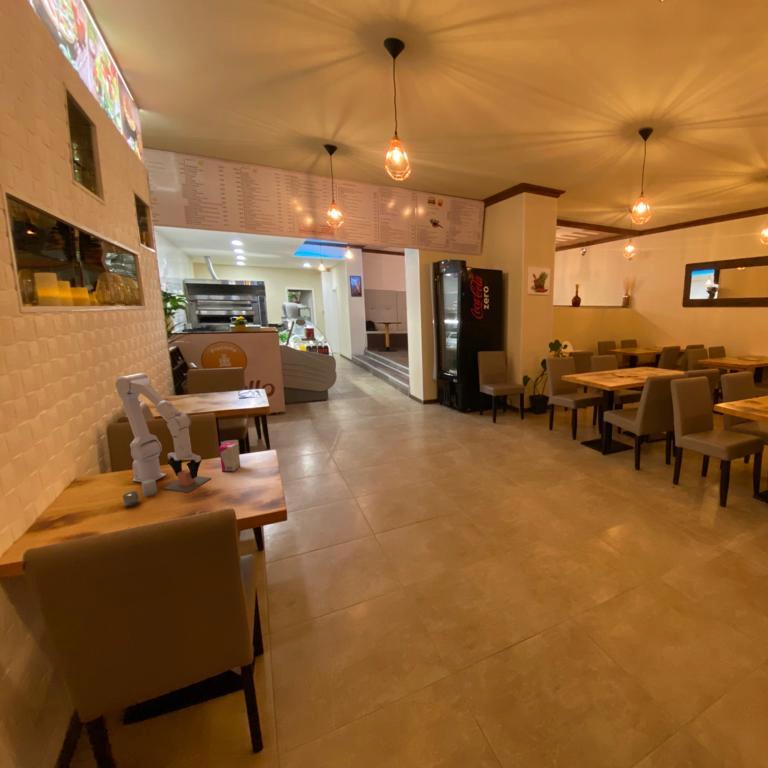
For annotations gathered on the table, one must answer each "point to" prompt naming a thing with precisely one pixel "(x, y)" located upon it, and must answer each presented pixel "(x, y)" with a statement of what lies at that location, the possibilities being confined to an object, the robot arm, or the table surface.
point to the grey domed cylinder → (149, 487)
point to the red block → (185, 478)
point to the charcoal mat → (187, 489)
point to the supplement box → (229, 457)
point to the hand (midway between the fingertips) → (186, 476)
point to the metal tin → (131, 499)
